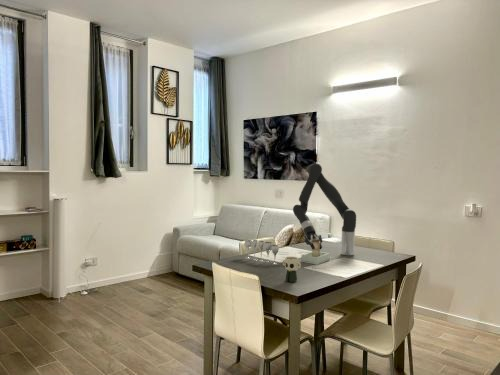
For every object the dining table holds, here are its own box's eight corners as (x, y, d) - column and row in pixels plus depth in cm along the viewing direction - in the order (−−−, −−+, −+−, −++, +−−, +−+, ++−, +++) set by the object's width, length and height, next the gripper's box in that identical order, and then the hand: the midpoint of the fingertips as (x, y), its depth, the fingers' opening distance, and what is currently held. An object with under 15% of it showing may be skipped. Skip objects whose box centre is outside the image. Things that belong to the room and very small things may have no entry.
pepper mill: (314, 255, 273) (314, 238, 272) (320, 256, 269) (321, 239, 269) (310, 256, 268) (310, 239, 268) (317, 257, 265) (317, 240, 265)
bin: (313, 257, 280) (314, 250, 280) (329, 259, 273) (329, 253, 272) (301, 261, 265) (301, 255, 265) (317, 264, 258) (317, 257, 258)
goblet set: (280, 263, 259) (280, 243, 258) (275, 265, 255) (275, 244, 254) (247, 256, 277) (248, 238, 276) (242, 258, 273) (242, 239, 272)
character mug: (279, 281, 218) (279, 257, 217) (285, 278, 224) (286, 255, 223) (297, 284, 212) (297, 260, 211) (302, 281, 218) (303, 258, 217)
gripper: (301, 225, 272) (310, 246, 261) (318, 224, 278) (328, 245, 268) (297, 232, 277) (306, 252, 266) (314, 231, 283) (323, 251, 273)
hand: (317, 248), depth 267 cm, fingers closed on pepper mill, 5 cm apart
